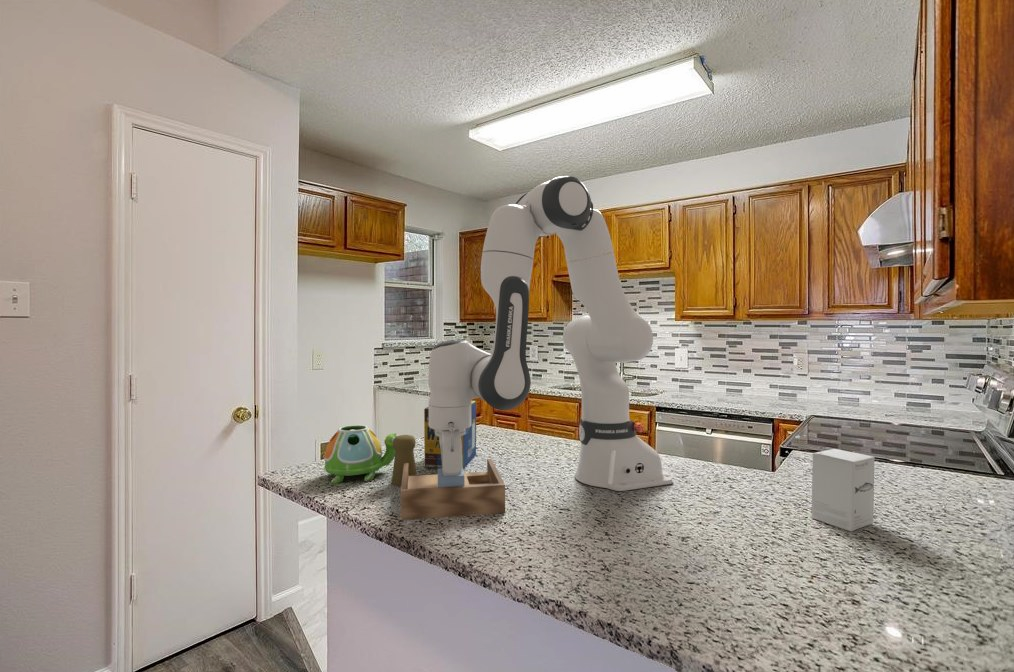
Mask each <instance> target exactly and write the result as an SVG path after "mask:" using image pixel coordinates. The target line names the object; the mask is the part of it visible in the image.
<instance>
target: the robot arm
mask: <svg viewBox="0 0 1014 672" xmlns="http://www.w3.org/2000/svg"><path fill="white" fill-rule="evenodd" d="M552 235H557V237H558V238H559V239H560V241H561V243H562V246H563V249H564V256H565V257H564V258H565V262H566V266H567V267H566V268H567V272H568V277H569V282H570V287H571V292H572V294H573V296H574V297H575V299H577V300H578V301H579V302H580V303H581V304H582V306H583V307H584V308H585V310H586V312H587V314H588V315H582V316H580V317H578V318H574V319H573V320H571V321H569V322H568V323H567V324H566V326H565V328H564V330H563V335H562V340H563V345H564V347H565V349H566V350H567V352H568V353H569V354H570V356H571V357H572V359H573V362H574V363H575V368H576V371H577V374H578V378H579V383H580V391H581V393H580V394H581V395H580V397H581V417H580V419H579V427H578V428H579V442H580V449H579V457H578V462H577V467H576V471H575V474H574V478H575V479H576V480H577V481H579V482H580V483H581V484H582V483H583V484H584V485H589V486H592V487H597V488H603V489H604V488H605V489H609V490H611V491H616V492H624V491H631V490H638V489H645V488H646V489H647V488H651V487H659V486H665V485H666V486H667V485H671V484H673V476H672V475H671V474H670V473H669V472H667V471H666V470H664V469H663V465H662V460H661V457H660V454H659V453H658V452H657V450H656V449H654V448H653V447H652V446H651V445H649V444H648V443H647V442H645V441H644V440H643V439H641V438H640V437H639V436H638V435H637V432H638V433H643V432H644V430H645V425H644V424H643V423H641V422H639V421H638V422H635V421H633V420H631V419H630V389H629V385H628V384H627V383H626V382H625V380H624V379H623V378H622V377H621V375H620V373H619V370H618V368H617V364H616V363H621V364H626V363H631V362H636V361H641V360H643V359H645V358H646V357H647V356H648V355H649V354H650V352H651V350H652V347H653V344H654V343H653V342H654V335H653V334H654V333H653V330H652V327H651V325H650V324H649V323H648V322H647V320H645V319H644V318H643V317H641V316H640V315H639V314H638V313H637V312H636V311H635V309H634V308H633V306H632V305H631V303H630V301H629V299H628V298H627V296H626V294H625V292H624V289H623V287H622V284H621V281H620V276H619V272H618V266H617V263H616V262H617V261H616V257H615V256H616V255H615V252H614V251H615V250H614V247H613V246H614V245H613V242H612V238H611V234H610V232H609V228H608V225H607V222H606V220H605V218H604V215H603V214H602V213H601V212H600V211H599V210H598V209H595V208H594V203H593V201H592V198H591V196H590V192H589V190H588V189H587V187H586V185H585V184H584V183H583V182H582V180H580V179H579V178H578V177H575V176H572V175H564V176H563V175H560V176H557V177H554V178H552V179H551V180H548V181H545V182H542V183H540V184H538V185H536V186H535V187H534V188H533V189H531V190H530V191H529V192H526V193H524V194H523V195H522V196H521V197H519V199H518V200H517V201H516V202H515V203H514V204H504V205H501V206H498V207H497V208H496V209H495V210H494V211H493V213H492V215H491V217H490V219H489V222H488V227H487V230H486V233H485V237H484V242H483V246H482V252H481V253H482V254H481V258H480V259H481V262H480V281H481V282H480V283H481V286H482V287H483V290H485V292H486V293H487V294H488V295H489V296H490V298H491V300H492V302H493V304H494V307H495V325H494V326H495V327H494V336H493V337H494V339H493V348H492V349H493V350H492V353H490V352H487V351H484V350H482V349H480V348H478V347H476V346H474V345H473V344H471V343H470V342H469V341H468V340H467V339H461V338H458V339H452V340H446V341H445V340H444V341H441V342H439V343H437V344H435V345H434V346H433V347H432V349H431V351H430V355H429V361H428V387H429V391H430V392H429V394H430V395H429V400H428V407H429V427H430V428H431V429H435V435H436V436H438V437H439V442H440V448H441V460H442V472H443V475H444V476H455V475H460V474H461V472H462V446H461V436H463V435H465V429H466V428H469V427H471V401H473V400H474V399H477V398H478V399H481V400H483V401H485V403H487V404H488V406H490V407H491V408H494V409H495V410H498V411H510V410H513V409H515V408H517V407H519V406H520V405H521V404H522V403H523V402H524V401H525V400H526V398H527V397H528V395H529V393H530V389H531V384H532V383H531V374H530V371H529V367H528V361H527V338H528V325H529V312H530V311H529V309H530V289H531V286H530V285H531V280H532V271H533V264H534V256H535V247H536V245H537V241H538V239H539V238H543V237H547V236H552Z"/></svg>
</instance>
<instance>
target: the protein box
mask: <svg viewBox="0 0 1014 672" xmlns="http://www.w3.org/2000/svg"><path fill="white" fill-rule="evenodd" d="M423 412H424V413H423V415H424V417H423V418H424V421H423V424H424V432H423V433H424V434H423V435H424V438H423V439H424V441H423V442H424V447H423V449H424V468H425V469H436V468H437V469H436V470H438V469H441V468H442V460H441V448H440V442H439V437H438V436H436V435H435V429H431V428H430V427H429V406H427V407H425V408H424V409H423ZM461 446H462V468H463V470H464V469H465V468H466V467H467V465H468V464H469V463H470V462H471V461H472V460H473V459H474V458H475V456H477V401H476V400H472V401H471V427H469V428H466V429H465V435H463V436H461Z"/></svg>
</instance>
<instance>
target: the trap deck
mask: <svg viewBox="0 0 1014 672" xmlns="http://www.w3.org/2000/svg"><path fill="white" fill-rule="evenodd" d="M486 464H487V465H486V471H478V472H477V471H476V472H464V486H451V487H438V473H437V474H422V475H417V476H409V463H404V467H403V476H402V484H401V487H400V521H408V520H409V521H410V520H421V519H423V520H424V519H435V518H436V519H437V518H449V517H450V518H451V517H463V516H464V517H465V516H479V515H491V514H506V484H505V482H504V480H503V478H502V476H501V475H500V472H499V471H498V469H497V467H496V465H495V463H494V461H493V458H487V459H486Z"/></svg>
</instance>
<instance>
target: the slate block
mask: <svg viewBox="0 0 1014 672" xmlns="http://www.w3.org/2000/svg"><path fill="white" fill-rule="evenodd" d="M464 473H465V472H464V469H463V468H462V472H461V474H460V475H455V476H444V475H443V472H442V468H441V469H437V474H438V487H451V486H464Z"/></svg>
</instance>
